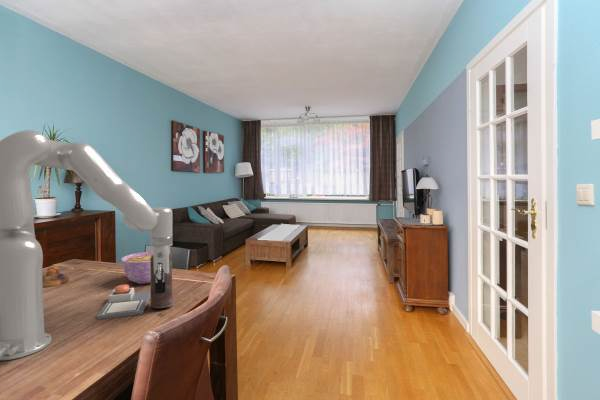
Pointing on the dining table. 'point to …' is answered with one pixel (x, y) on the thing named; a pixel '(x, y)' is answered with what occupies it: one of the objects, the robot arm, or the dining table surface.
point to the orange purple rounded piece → (53, 278)
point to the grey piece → (124, 304)
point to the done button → (121, 289)
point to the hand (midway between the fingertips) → (161, 288)
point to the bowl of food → (138, 267)
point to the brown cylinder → (165, 298)
